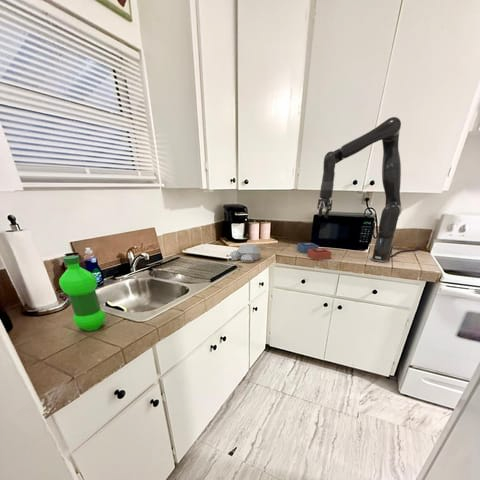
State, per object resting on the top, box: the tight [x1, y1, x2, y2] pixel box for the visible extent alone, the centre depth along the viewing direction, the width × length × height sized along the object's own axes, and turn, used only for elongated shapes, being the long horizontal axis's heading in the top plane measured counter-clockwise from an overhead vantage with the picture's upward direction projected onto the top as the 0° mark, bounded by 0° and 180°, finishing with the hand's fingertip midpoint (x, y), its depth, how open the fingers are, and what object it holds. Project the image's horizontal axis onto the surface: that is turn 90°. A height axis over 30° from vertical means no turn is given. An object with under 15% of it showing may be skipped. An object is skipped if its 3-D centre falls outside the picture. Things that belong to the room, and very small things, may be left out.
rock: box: [228, 243, 262, 263], centre depth 168 cm, size 18×20×10 cm
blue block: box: [304, 242, 312, 247], centre depth 188 cm, size 4×4×4 cm
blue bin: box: [296, 242, 319, 254], centre depth 188 cm, size 11×11×4 cm
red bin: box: [306, 247, 332, 261], centre depth 172 cm, size 11×11×4 cm
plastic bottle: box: [58, 254, 107, 332], centre depth 86 cm, size 10×10×25 cm
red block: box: [315, 249, 324, 253], centre depth 172 cm, size 4×4×4 cm
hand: (322, 217), depth 171 cm, fingers open, 8 cm apart
